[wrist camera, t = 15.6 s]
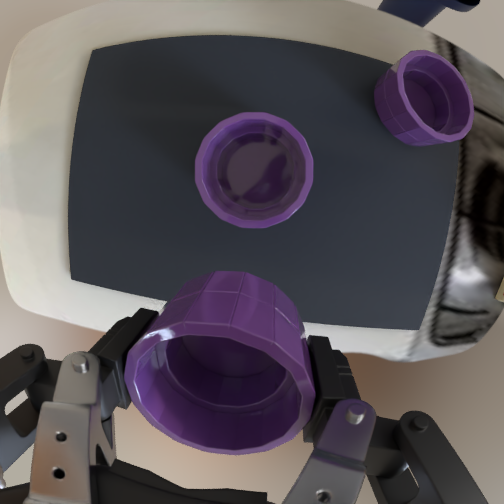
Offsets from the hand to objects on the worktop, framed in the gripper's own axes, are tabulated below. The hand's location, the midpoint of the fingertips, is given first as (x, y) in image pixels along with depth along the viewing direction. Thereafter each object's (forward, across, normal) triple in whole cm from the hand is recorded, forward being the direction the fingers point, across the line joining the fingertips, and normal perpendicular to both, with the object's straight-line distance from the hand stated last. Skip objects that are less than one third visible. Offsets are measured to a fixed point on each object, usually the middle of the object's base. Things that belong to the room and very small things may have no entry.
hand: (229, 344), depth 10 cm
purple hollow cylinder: (+9, -10, -13) cm, 19 cm away
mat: (+9, 0, -7) cm, 12 cm away
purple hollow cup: (+9, 0, -7) cm, 11 cm away
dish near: (+1, 0, 0) cm, 1 cm away
